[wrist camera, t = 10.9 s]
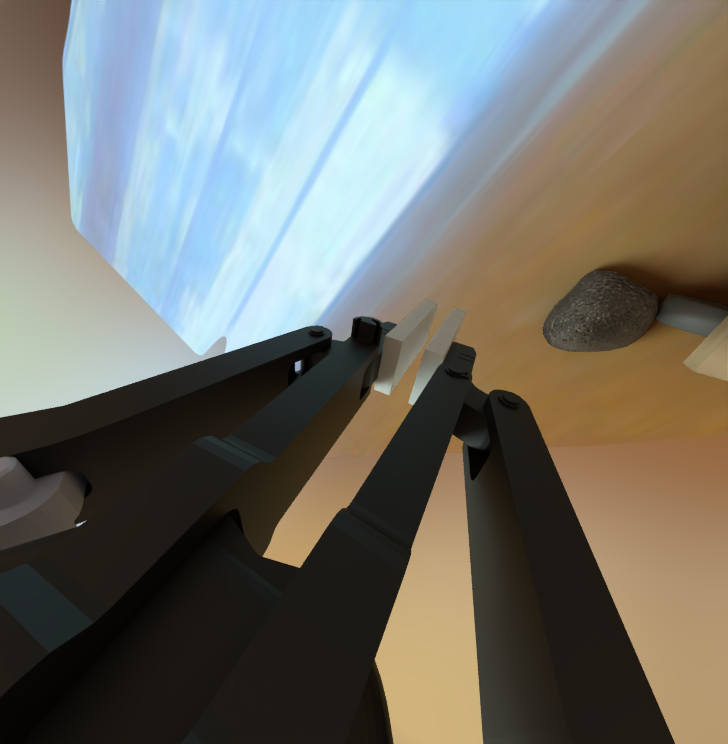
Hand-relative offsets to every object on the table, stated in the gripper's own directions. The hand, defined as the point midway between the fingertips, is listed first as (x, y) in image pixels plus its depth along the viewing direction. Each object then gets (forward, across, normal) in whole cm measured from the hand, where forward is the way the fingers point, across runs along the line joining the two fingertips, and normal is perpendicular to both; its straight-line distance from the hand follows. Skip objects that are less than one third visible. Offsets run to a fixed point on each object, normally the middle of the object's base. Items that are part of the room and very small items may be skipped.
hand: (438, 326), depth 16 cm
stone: (+25, +14, -2) cm, 29 cm away
